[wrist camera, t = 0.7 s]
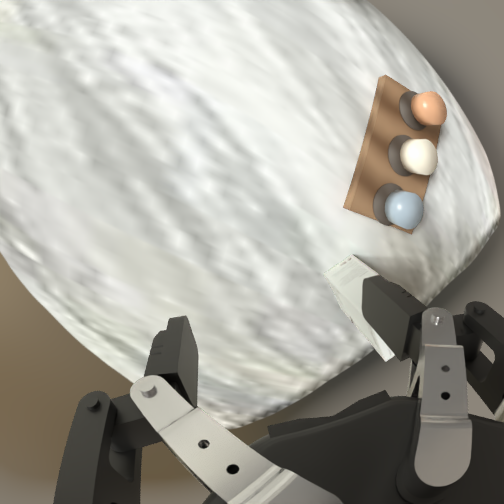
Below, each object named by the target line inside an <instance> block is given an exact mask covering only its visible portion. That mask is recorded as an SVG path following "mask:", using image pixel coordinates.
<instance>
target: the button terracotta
mask: <svg viewBox="0 0 504 504" xmlns="http://www.w3.org/2000/svg"><path fill="white" fill-rule="evenodd" d="M411 108H412V112H413V115H414V117H415V118H416V120H417V121H418V122H419V123H420V124H422V125H441V124H443V123H444V122H445V120H446V117H447V110H446V106H445V103H444V101H443V99H442V98H441V97H440V95H439V94H437V93H436V92H433V91H430V92H425V93H420V94H416V95H414V97H413V98H412V101H411Z"/></svg>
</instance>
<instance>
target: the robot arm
mask: <svg viewBox="0 0 504 504" xmlns="http://www.w3.org/2000/svg"><path fill="white" fill-rule="evenodd" d="M362 314H363V317H364V319H365V320H366V321H367V322H368V324H369V325H370V326H371V327H372V328H373V329H374V331H375V332H376V333H377V334H378V335H379V336H380V338H381V339H382V340H383V341H384V342H385V344H386V345H387V346H388V347H389V348H390V349H391V351H392V352H393V353H394V354H395V355H396V357H397V358H398V359H399V360H400V361H403V360H405V359H407V358H411V359H412V361H411V365H410V372H409V381H408V388H407V395H406V396H395V397H389V395H388V393H387V392H386V391H385V390H384V391H382V392H379V393H377V394H374V395H372V396H369V397H367V398H364V399H361V400H359V401H358V402H356V403H354V404H352V405H351V406H349V407H348V408H346V409H344V410H343V411H341V412H339V413H337V414H336V415H334V416H330V417H319V418H306V419H297V420H292V421H289V422H284V423H280V424H275V425H270V426H268V431H269V435H266V436H264V437H262V438H260V439H258V440H257V441H255V442H254V443H252V444H251V445H249V446H247V445H246V444H245V443H243V442H242V441H241V440H239V439H238V438H237V437H235V436H234V435H233V434H231V433H230V432H229V431H228V430H226V429H225V428H224V427H223V426H222V425H220V424H219V423H218V422H217V421H215V420H214V419H213V418H212V417H211V416H209V415H208V414H207V413H206V412H205V411H204V410H202V409H201V408H200V407H198V406H197V386H198V349H197V345H196V342H195V339H194V336H193V333H192V330H191V327H190V324H189V321H188V318H187V316H180V317H174V318H169V321H168V325H167V330H164V331H160V332H159V333H158V334H157V335H156V336H155V338H154V339H153V343H152V348H151V350H150V355H149V358H148V362H147V366H146V370H145V374H144V377H143V378H141V379H139V380H137V381H136V382H135V383H134V384H133V386H132V387H131V389H130V393H129V394H127V395H124V396H120V397H117V398H114V399H110V398H109V396H108V395H107V394H106V393H104V392H101V391H94V392H91V393H89V394H87V395H85V396H84V397H83V398H82V399H81V400H80V402H79V404H78V407H77V410H76V413H75V416H74V419H73V422H72V426H71V429H70V432H69V436H68V440H67V444H66V447H65V451H64V455H63V459H62V463H61V467H60V471H59V477H58V481H57V486H56V491H55V497H54V503H53V504H140V483H141V482H140V481H141V459H142V447H144V446H148V445H151V444H154V443H158V442H161V441H162V442H163V443H164V444H165V445H166V446H167V448H168V449H169V450H170V451H171V452H172V453H173V454H174V456H175V457H176V458H177V459H178V460H179V461H180V462H181V463H182V464H183V465H184V466H185V468H186V469H187V470H188V471H189V472H190V473H191V474H192V475H193V476H194V477H195V478H196V479H197V480H198V481H199V482H200V483H201V484H202V485H203V486H204V487H205V488H206V489H207V490H208V491H209V492H210V493H211V494H210V495H209V496H208V498H207V499H206V500H205V501H204V502H203V504H504V318H503V317H502V316H501V315H499V314H498V313H497V312H496V311H494V310H493V309H492V308H491V307H489V306H488V305H486V304H485V303H482V302H476V301H475V302H470V303H468V304H467V305H466V308H465V312H464V314H460V315H455V316H452V315H451V313H449V312H448V311H447V310H445V309H442V308H429V309H428V308H427V307H426V306H425V305H423V304H422V303H421V302H420V301H419V300H417V299H416V298H415V297H414V296H412V295H411V294H410V293H409V292H406V290H405V289H403V288H402V287H401V286H400V285H397V284H394V283H392V282H388V281H387V280H386V279H384V278H383V277H382V276H381V275H375V276H371V277H368V278H364V280H363V284H362ZM483 341H484V342H485V343H486V344H487V345H488V346H489V347H490V348H491V349H492V350H493V351H494V354H495V361H494V363H493V364H492V363H491V362H490V361H489V360H488V358H487V357H486V356H485V355H484V354H483V353H482V352H481V351H480V348H481V346H482V343H483ZM467 381H468V383H469V384H470V385H471V386H472V387H473V389H474V390H475V391H476V392H477V394H478V395H479V396H480V397H481V399H482V400H483V401H484V403H485V404H486V405H487V406H488V408H489V409H490V410H491V412H492V413H493V414H494V416H495V420H492V419H488V418H484V417H479V416H476V415H472V414H468V399H467Z"/></svg>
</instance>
